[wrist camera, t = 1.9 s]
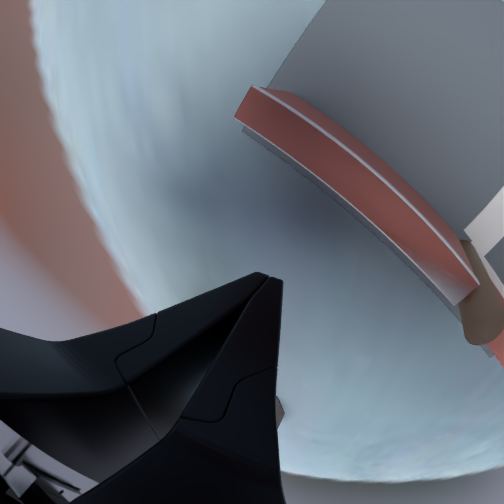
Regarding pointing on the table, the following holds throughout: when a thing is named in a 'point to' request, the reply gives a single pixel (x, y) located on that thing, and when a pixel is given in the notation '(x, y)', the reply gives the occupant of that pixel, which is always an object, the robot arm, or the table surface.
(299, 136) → the gate panel
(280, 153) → the board
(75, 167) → the table surface
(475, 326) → the fixed fence
